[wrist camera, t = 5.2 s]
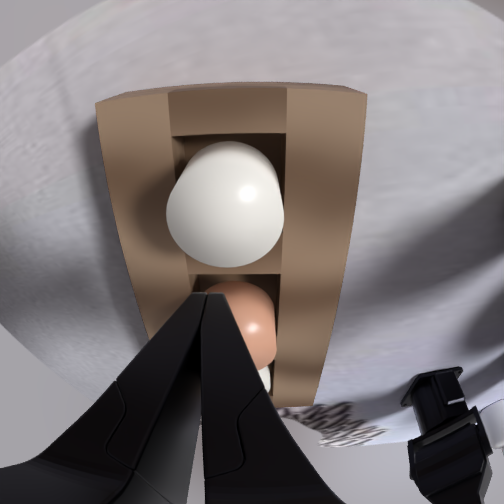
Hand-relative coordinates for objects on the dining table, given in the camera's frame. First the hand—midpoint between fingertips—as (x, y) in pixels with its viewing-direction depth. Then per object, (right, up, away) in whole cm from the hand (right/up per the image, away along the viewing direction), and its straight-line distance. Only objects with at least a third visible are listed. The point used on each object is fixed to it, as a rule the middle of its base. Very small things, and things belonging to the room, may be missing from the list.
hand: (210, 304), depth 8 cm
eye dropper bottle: (+42, -25, +31) cm, 58 cm away
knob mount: (0, 0, +14) cm, 14 cm away
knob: (0, +4, +6) cm, 8 cm away
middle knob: (0, -2, +10) cm, 11 cm away
